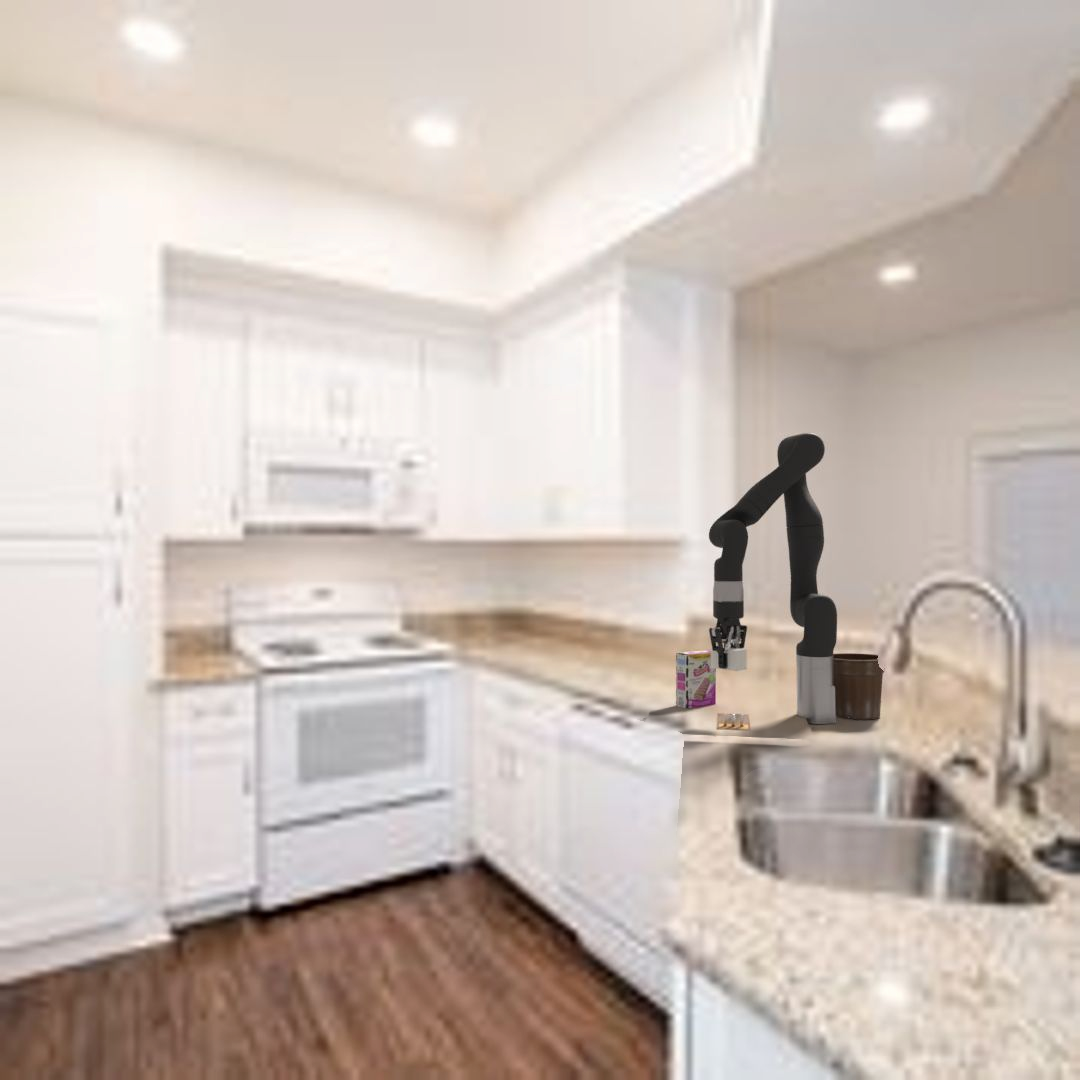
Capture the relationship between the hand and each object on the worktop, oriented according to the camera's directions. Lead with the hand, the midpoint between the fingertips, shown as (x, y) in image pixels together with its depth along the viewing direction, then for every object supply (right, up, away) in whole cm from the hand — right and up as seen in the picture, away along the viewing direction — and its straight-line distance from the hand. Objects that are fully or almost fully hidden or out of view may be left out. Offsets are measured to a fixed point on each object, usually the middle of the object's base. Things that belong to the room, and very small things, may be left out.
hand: (728, 666), depth 202 cm
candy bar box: (-3, -16, +24) cm, 29 cm away
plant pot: (+38, -16, +14) cm, 43 cm away
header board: (+2, -15, +1) cm, 16 cm away
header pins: (0, -14, -5) cm, 15 cm away
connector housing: (0, 0, 0) cm, 0 cm away
